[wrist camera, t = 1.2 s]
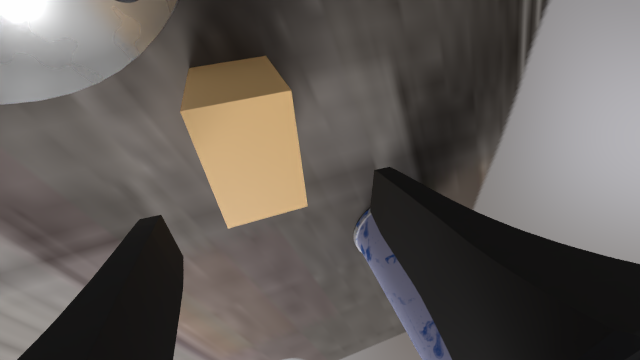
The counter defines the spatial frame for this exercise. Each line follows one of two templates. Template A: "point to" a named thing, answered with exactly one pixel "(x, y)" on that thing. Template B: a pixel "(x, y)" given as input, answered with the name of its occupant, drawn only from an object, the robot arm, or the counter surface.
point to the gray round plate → (71, 43)
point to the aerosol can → (399, 290)
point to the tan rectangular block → (245, 138)
